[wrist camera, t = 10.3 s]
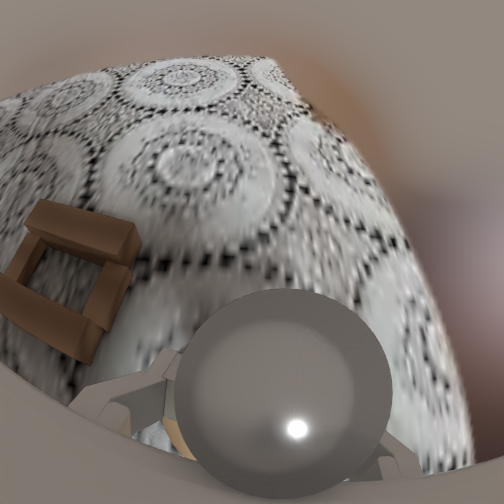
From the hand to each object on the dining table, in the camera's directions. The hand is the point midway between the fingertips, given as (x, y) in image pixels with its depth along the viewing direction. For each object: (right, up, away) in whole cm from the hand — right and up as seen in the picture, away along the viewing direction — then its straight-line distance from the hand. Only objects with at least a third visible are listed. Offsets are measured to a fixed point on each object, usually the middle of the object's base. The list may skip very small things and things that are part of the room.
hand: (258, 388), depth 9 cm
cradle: (-16, +2, +11) cm, 20 cm away
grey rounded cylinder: (-1, -4, +6) cm, 8 cm away
